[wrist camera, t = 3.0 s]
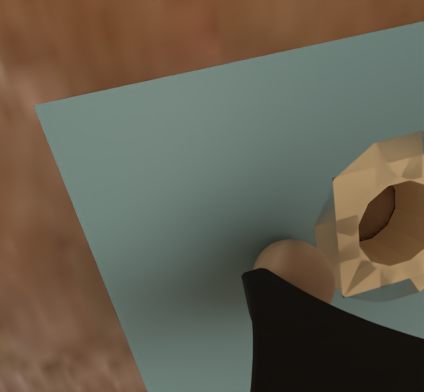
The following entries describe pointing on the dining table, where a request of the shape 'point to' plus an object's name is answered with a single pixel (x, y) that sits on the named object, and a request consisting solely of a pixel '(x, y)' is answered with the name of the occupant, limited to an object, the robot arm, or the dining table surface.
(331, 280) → the maple ball
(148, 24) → the dining table surface
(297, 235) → the hole board
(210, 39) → the dining table surface
